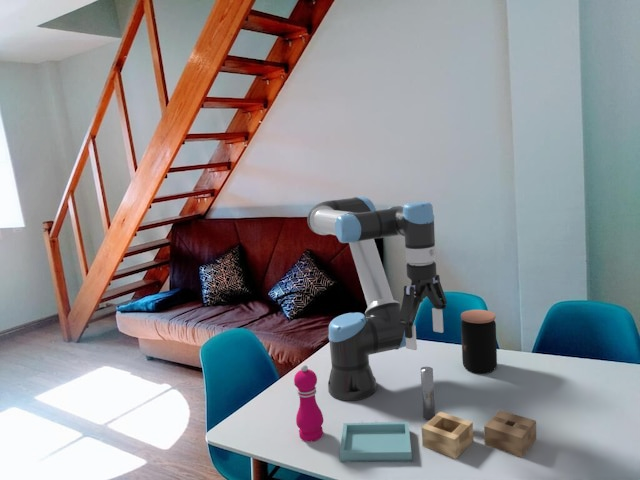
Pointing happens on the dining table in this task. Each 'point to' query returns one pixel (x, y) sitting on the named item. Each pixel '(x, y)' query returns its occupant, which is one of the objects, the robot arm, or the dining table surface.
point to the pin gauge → (427, 392)
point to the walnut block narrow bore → (510, 433)
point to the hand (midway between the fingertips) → (425, 340)
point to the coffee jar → (479, 341)
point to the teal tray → (375, 442)
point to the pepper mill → (308, 406)
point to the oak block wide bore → (447, 434)
